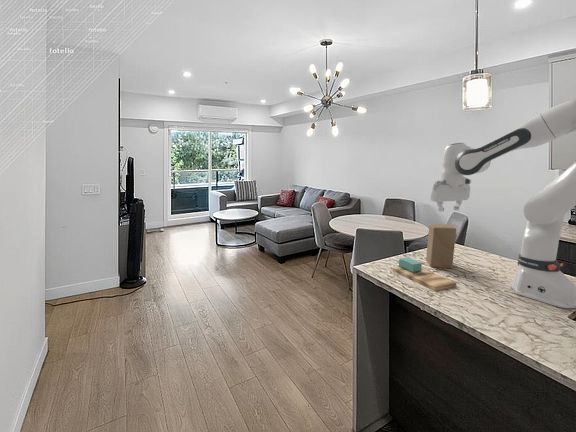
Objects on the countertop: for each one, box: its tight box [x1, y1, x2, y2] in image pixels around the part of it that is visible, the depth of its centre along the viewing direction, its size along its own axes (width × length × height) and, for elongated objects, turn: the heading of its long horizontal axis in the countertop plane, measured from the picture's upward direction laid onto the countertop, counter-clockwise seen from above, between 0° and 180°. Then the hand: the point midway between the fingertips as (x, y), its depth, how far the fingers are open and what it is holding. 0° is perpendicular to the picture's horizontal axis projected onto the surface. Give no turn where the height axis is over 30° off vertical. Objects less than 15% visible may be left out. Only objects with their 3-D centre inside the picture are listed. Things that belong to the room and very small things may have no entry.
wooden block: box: [425, 223, 457, 269], centre depth 155 cm, size 10×10×20 cm
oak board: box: [392, 266, 458, 291], centre depth 139 cm, size 25×12×2 cm, turn 23°
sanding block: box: [398, 257, 423, 273], centre depth 146 cm, size 9×5×4 cm, turn 23°
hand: (448, 210), depth 142 cm, fingers open, 8 cm apart
